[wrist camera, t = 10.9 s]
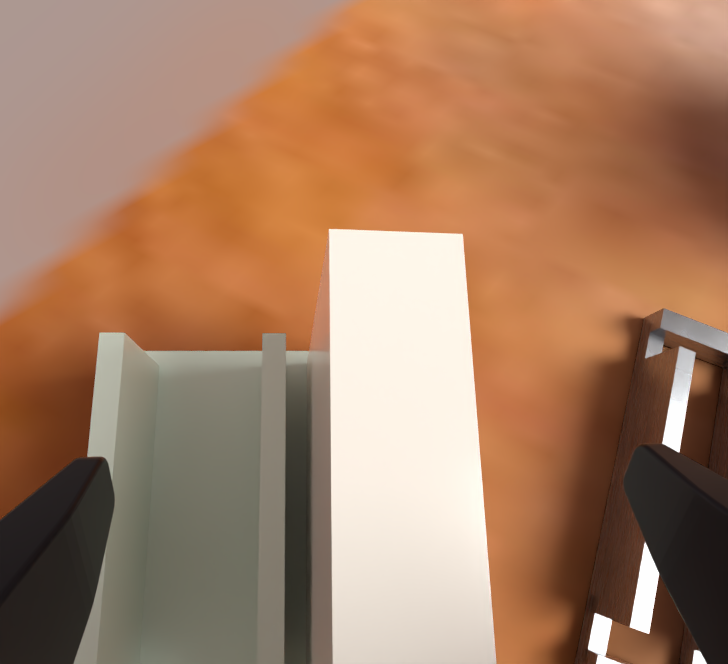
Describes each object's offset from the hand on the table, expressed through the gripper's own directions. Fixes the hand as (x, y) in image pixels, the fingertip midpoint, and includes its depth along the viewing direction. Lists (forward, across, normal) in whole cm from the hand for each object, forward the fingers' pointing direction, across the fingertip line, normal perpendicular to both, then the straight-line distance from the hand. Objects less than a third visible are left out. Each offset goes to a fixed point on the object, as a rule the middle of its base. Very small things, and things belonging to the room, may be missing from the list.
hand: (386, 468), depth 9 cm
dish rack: (+6, +2, +8) cm, 10 cm away
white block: (+5, 0, +7) cm, 9 cm away
